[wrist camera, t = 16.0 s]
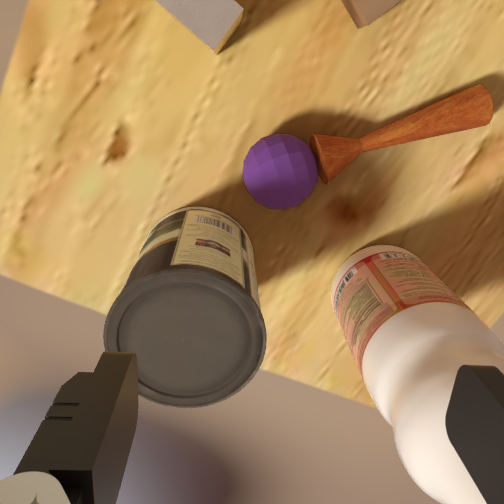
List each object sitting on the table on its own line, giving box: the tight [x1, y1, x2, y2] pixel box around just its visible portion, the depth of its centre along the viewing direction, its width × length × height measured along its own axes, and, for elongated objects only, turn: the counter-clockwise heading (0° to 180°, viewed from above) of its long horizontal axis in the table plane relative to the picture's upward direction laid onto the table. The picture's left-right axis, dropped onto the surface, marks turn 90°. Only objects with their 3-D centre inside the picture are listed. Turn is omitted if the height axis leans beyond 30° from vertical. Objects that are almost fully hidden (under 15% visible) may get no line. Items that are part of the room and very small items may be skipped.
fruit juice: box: [331, 245, 504, 504], centre depth 31 cm, size 9×9×28 cm
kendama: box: [243, 85, 493, 210], centre depth 37 cm, size 6×6×20 cm
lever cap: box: [156, 0, 243, 55], centre depth 31 cm, size 4×3×8 cm
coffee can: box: [103, 207, 266, 408], centre depth 36 cm, size 10×10×14 cm
